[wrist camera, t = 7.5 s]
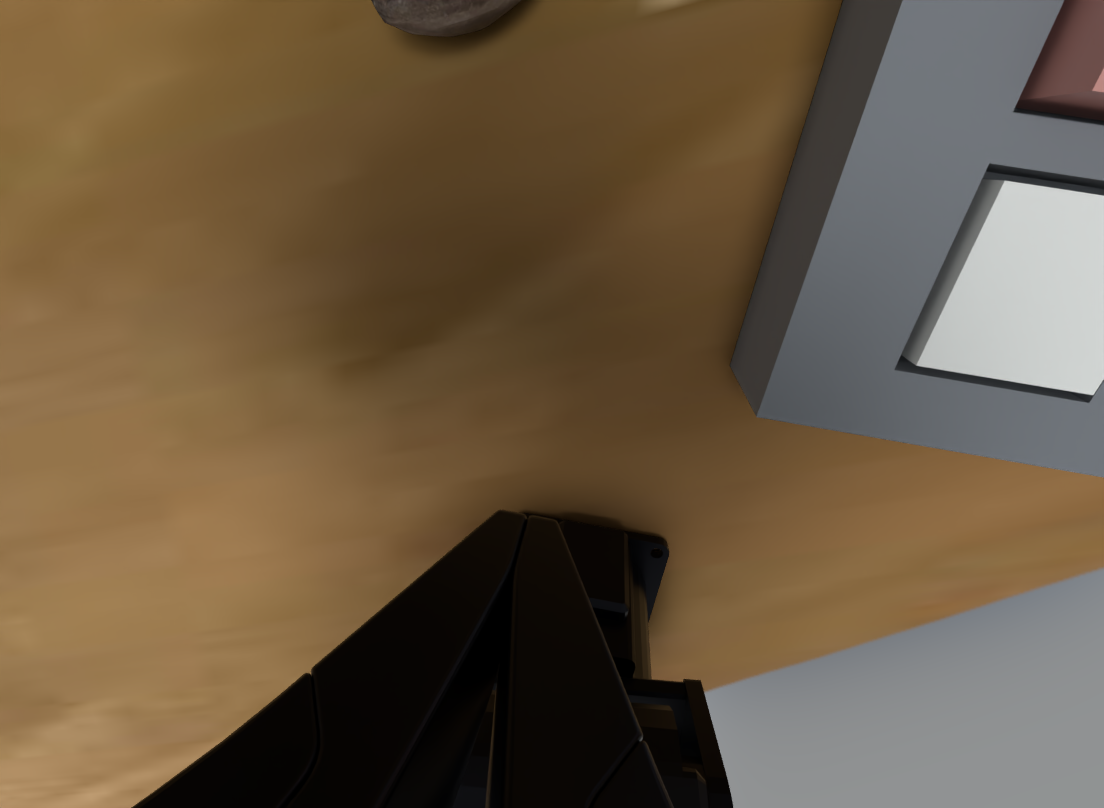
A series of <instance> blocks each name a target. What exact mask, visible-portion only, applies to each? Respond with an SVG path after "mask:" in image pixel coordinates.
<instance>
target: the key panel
mask: <svg viewBox="0 0 1104 808" xmlns="http://www.w3.org/2000/svg"><path fill="white" fill-rule="evenodd" d="M1063 2H1064V0H843V2H842V6H841V9H840V12H839V15H838V18H837V22H836V25H835V28H834V31H833V35H832V38H831V41H830V44H829V47H828V51H827V54H826V57H825V60H824V64H823V67H822V70H821V73H820V76H819V80H818V83H817V86H816V89H815V93H814V96H813V99H812V102H811V105H810V109H809V112H808V115H807V118H806V122H805V125H804V128H803V131H802V134H801V138H800V141H799V144H798V147H797V151H796V154H795V157H794V160H793V163H792V167H791V170H790V173H789V176H788V180H787V183H786V186H785V189H784V193H783V196H782V199H781V202H780V205H779V209H778V212H777V215H776V218H775V222H774V225H773V228H772V231H771V234H770V238H769V241H768V244H767V247H766V251H765V254H764V257H763V260H762V263H761V267H760V270H759V273H758V276H757V280H756V283H755V286H754V289H753V292H752V296H751V299H750V302H749V305H748V309H747V312H746V315H745V318H744V321H743V325H742V328H741V331H740V334H739V338H738V341H737V344H736V347H735V350H734V354H733V357H732V360H731V363H730V367H731V369H732V371H733V373H734V375H735V377H736V379H737V380H738V382H739V384H740V386H741V388H742V390H743V392H744V394H745V396H746V398H747V400H748V402H749V403H750V405H751V407H752V409H753V411H754V413H755V415H756V417H760V418H765V419H771V420H777V421H783V422H788V423H794V424H800V425H806V426H811V427H817V428H823V429H829V430H834V431H840V432H846V433H852V434H857V435H863V436H869V437H875V438H880V439H886V440H892V441H898V442H903V443H909V444H915V445H921V446H926V447H932V448H938V449H944V450H949V451H955V452H961V453H966V454H972V455H978V456H984V457H989V458H995V459H1001V460H1007V461H1012V462H1018V463H1024V464H1030V465H1035V466H1041V467H1047V468H1053V469H1058V470H1064V471H1070V472H1076V473H1081V474H1087V475H1093V476H1099V477H1104V380H1103V381H1102V383H1101V384H1100V386H1099V387H1098V389H1097V390H1096V392H1095V393H1094V395H1089V394H1083V393H1077V392H1071V391H1065V390H1059V389H1053V388H1047V387H1041V386H1035V385H1029V384H1023V383H1017V382H1011V381H1005V380H999V379H993V378H987V377H981V376H975V375H969V374H963V373H957V372H951V371H945V370H940V369H934V368H928V367H922V366H916V365H915V364H913V363H912V362H910V361H909V360H908V359H906V358H905V357H904V356H902V355H901V354H902V352H903V350H904V347H905V345H906V343H907V341H908V339H909V337H910V334H911V332H912V330H913V328H914V326H915V324H916V321H917V319H918V317H919V315H920V313H921V311H922V308H923V306H924V304H925V302H926V300H927V297H928V295H929V293H930V291H931V289H932V287H933V284H934V282H935V280H936V278H937V276H938V274H939V271H940V269H941V267H942V265H943V263H944V261H945V258H946V256H947V254H948V252H949V250H950V248H951V245H952V243H953V241H954V239H955V237H956V235H957V232H958V230H959V228H960V226H961V224H962V222H963V219H964V217H965V215H966V213H967V211H968V208H969V206H970V204H971V202H972V200H973V198H974V195H975V193H976V191H977V189H978V187H979V185H980V182H981V180H982V179H990V180H1004V181H1011V182H1017V183H1024V184H1031V185H1037V186H1044V187H1050V188H1057V189H1064V190H1070V191H1077V192H1083V193H1090V194H1096V195H1103V196H1104V121H1102V120H1095V119H1088V118H1081V117H1075V116H1068V115H1061V114H1054V113H1047V112H1040V111H1034V110H1027V109H1020V108H1015V106H1016V104H1017V102H1018V100H1019V98H1020V96H1021V93H1022V91H1023V89H1024V87H1025V85H1026V83H1027V80H1028V78H1029V76H1030V74H1031V72H1032V70H1033V67H1034V65H1035V63H1036V61H1037V59H1038V57H1039V54H1040V52H1041V50H1042V48H1043V46H1044V44H1045V41H1046V39H1047V37H1048V35H1049V33H1050V30H1051V28H1052V26H1053V24H1054V22H1055V20H1056V17H1057V15H1058V13H1059V11H1060V9H1061V7H1062V4H1063Z"/></svg>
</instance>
